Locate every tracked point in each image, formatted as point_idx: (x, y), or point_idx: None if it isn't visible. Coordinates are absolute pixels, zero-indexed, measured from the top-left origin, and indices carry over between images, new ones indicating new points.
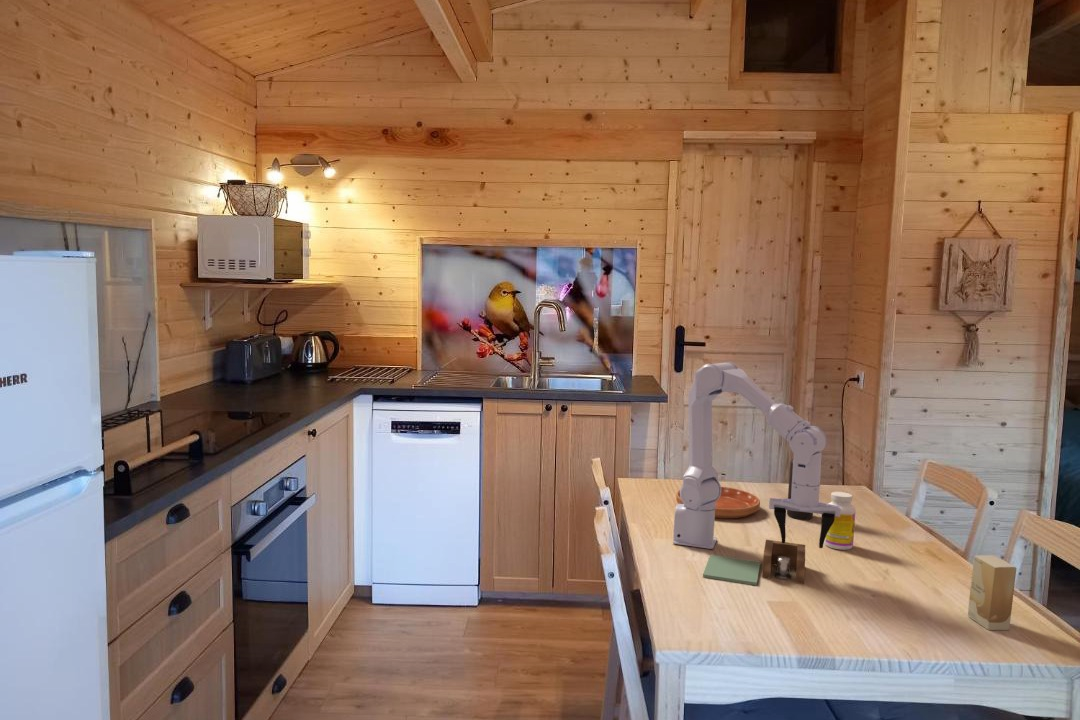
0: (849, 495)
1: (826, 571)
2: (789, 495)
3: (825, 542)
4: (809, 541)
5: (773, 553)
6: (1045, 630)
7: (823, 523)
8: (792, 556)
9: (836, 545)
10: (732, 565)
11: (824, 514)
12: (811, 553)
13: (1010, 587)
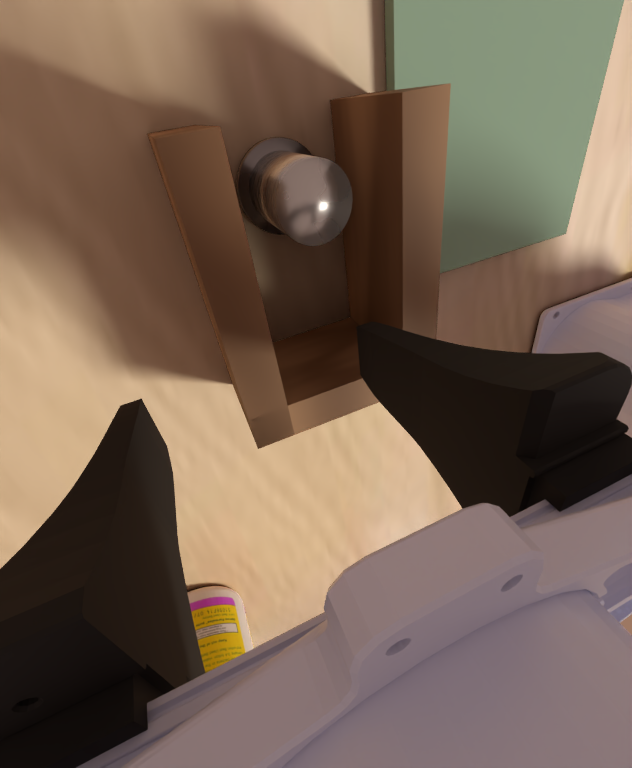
0: None
1: (128, 400)
2: None
3: (232, 595)
4: (281, 575)
5: None
6: None
7: (84, 556)
8: (289, 366)
9: (191, 601)
10: (503, 150)
11: (117, 709)
12: (248, 511)
13: None
